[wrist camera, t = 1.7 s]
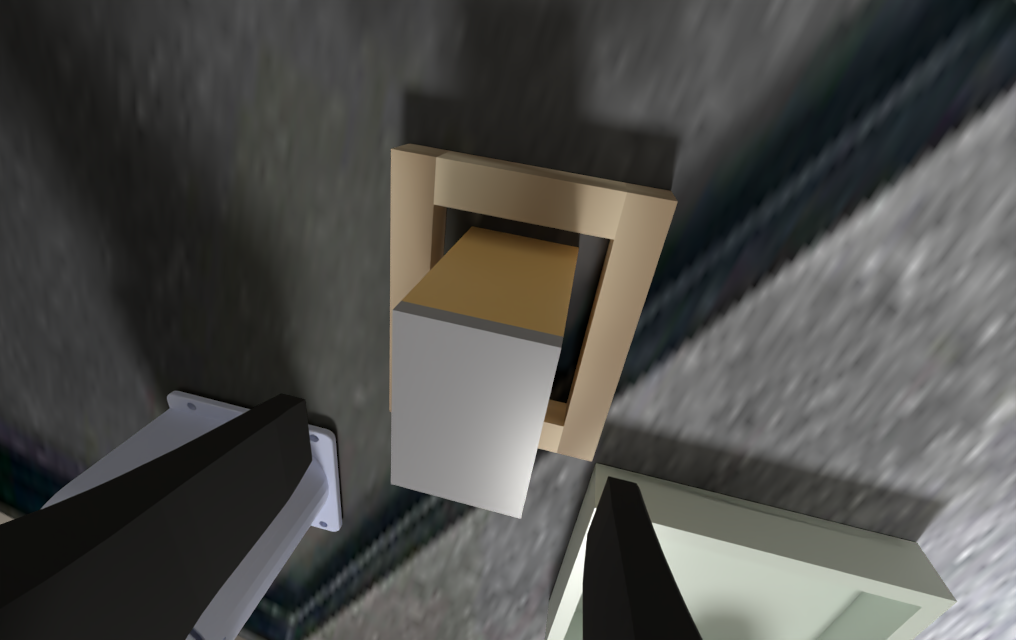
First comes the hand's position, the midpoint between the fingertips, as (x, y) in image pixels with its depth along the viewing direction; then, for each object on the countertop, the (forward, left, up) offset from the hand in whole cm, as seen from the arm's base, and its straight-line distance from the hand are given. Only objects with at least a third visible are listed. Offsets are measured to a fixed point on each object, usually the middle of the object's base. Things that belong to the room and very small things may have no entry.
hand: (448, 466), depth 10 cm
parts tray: (+12, -13, -8) cm, 20 cm away
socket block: (0, 0, -8) cm, 8 cm away
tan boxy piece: (0, 0, -8) cm, 8 cm away
